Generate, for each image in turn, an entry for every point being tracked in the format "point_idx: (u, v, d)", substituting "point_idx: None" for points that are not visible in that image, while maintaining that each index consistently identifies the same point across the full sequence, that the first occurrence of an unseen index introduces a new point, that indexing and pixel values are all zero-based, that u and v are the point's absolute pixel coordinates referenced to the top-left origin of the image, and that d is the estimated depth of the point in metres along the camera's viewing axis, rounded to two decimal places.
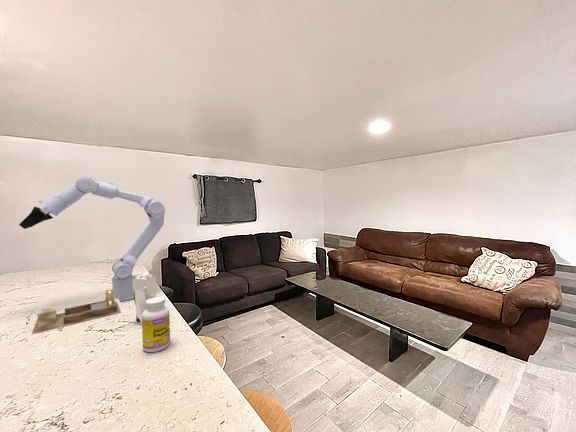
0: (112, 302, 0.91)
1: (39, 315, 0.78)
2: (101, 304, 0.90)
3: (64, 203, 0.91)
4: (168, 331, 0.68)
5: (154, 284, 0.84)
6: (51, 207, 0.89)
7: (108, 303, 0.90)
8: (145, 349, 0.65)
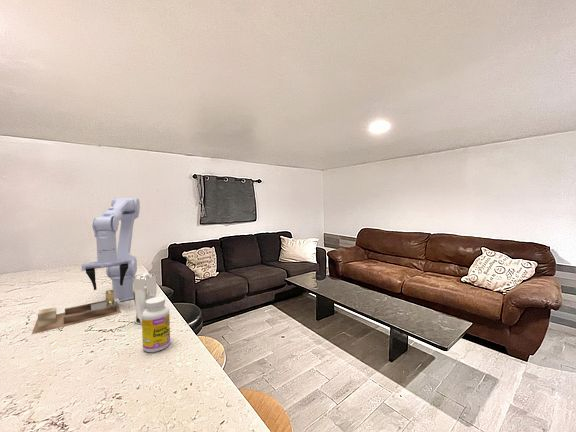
0: (112, 302, 0.91)
1: (39, 315, 0.78)
2: (101, 304, 0.90)
3: None
4: (168, 331, 0.68)
5: (154, 284, 0.84)
6: (116, 259, 0.92)
7: (108, 303, 0.90)
8: (145, 349, 0.65)
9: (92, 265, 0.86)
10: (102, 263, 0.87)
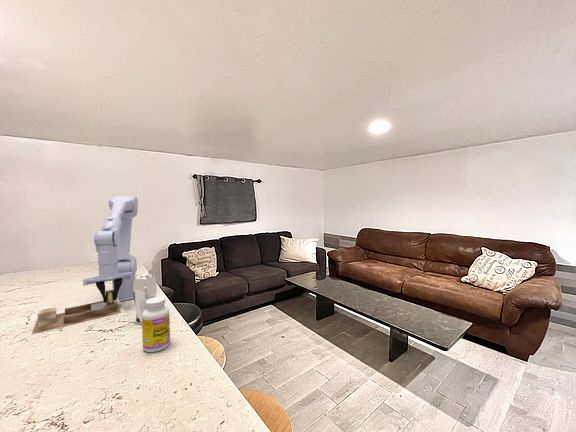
0: (112, 302, 0.91)
1: (39, 315, 0.78)
2: (101, 304, 0.90)
3: None
4: (168, 331, 0.68)
5: (154, 284, 0.84)
6: None
7: (108, 303, 0.90)
8: (145, 349, 0.65)
9: (94, 280, 0.87)
10: (103, 278, 0.88)
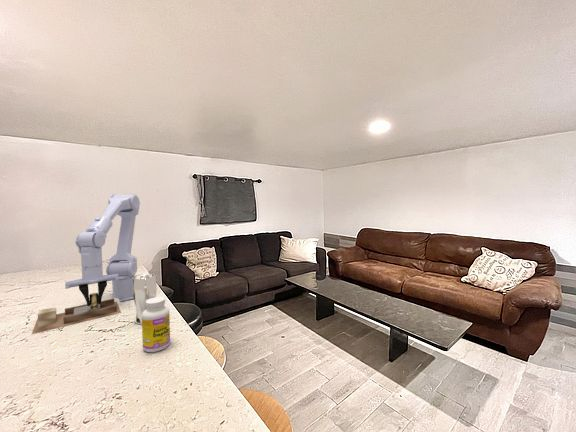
0: (96, 305, 0.88)
1: (39, 315, 0.78)
2: (85, 307, 0.88)
3: None
4: (168, 331, 0.68)
5: (154, 284, 0.84)
6: (102, 275, 0.89)
7: (92, 306, 0.87)
8: (145, 349, 0.65)
9: (76, 283, 0.84)
10: (86, 280, 0.85)
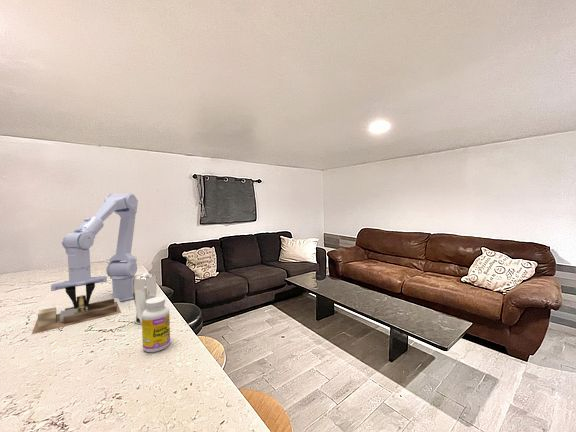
0: (84, 308, 0.86)
1: (39, 315, 0.78)
2: (72, 310, 0.85)
3: None
4: (168, 331, 0.68)
5: (154, 284, 0.84)
6: (90, 276, 0.87)
7: (79, 309, 0.85)
8: (145, 349, 0.65)
9: (63, 285, 0.82)
10: (73, 283, 0.83)
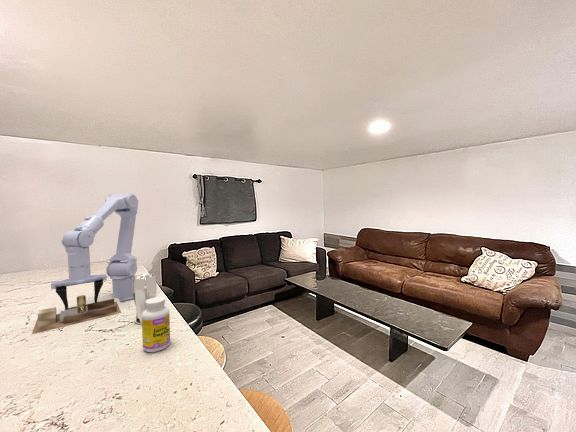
0: (84, 308, 0.86)
1: (39, 315, 0.78)
2: (72, 310, 0.85)
3: None
4: (168, 331, 0.68)
5: (154, 284, 0.84)
6: (90, 275, 0.87)
7: (79, 309, 0.85)
8: (145, 349, 0.65)
9: (63, 283, 0.82)
10: (73, 281, 0.83)
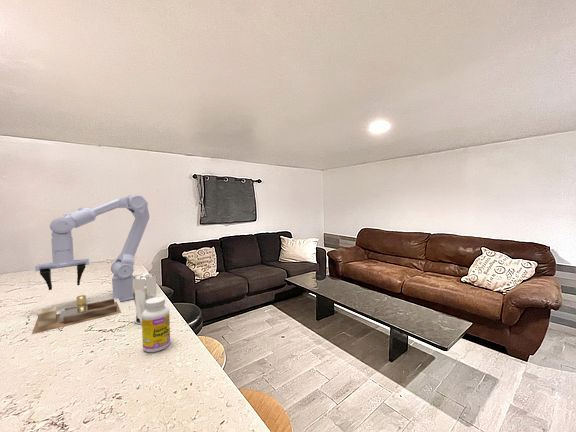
0: (84, 308, 0.86)
1: (39, 315, 0.78)
2: (72, 310, 0.85)
3: None
4: (168, 331, 0.68)
5: (154, 284, 0.84)
6: (73, 259, 0.93)
7: (79, 309, 0.85)
8: (145, 349, 0.65)
9: (46, 266, 0.88)
10: (56, 264, 0.89)
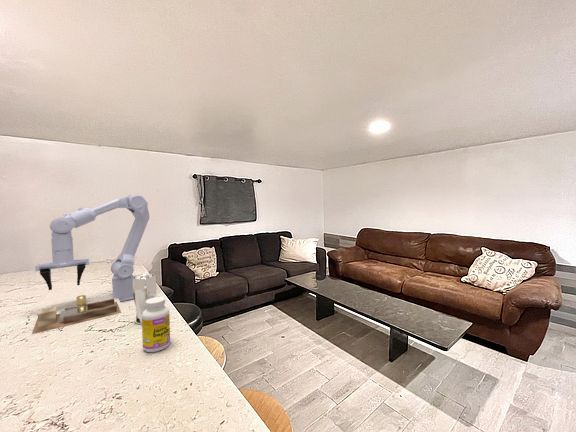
0: (84, 308, 0.86)
1: (39, 315, 0.78)
2: (72, 310, 0.85)
3: None
4: (168, 331, 0.68)
5: (154, 284, 0.84)
6: (73, 259, 0.93)
7: (79, 309, 0.85)
8: (145, 349, 0.65)
9: (46, 266, 0.88)
10: (56, 264, 0.89)
